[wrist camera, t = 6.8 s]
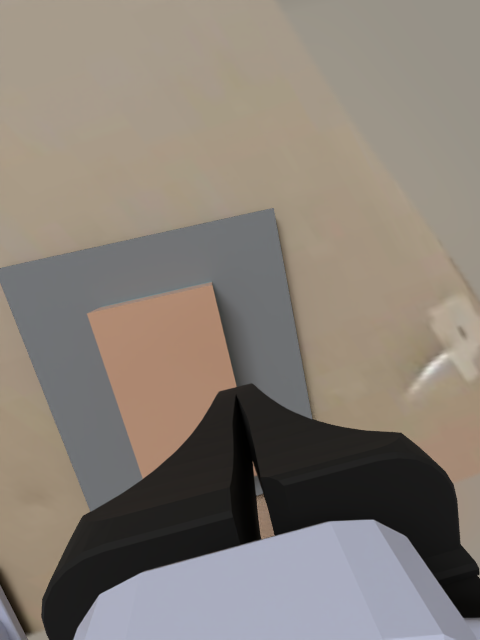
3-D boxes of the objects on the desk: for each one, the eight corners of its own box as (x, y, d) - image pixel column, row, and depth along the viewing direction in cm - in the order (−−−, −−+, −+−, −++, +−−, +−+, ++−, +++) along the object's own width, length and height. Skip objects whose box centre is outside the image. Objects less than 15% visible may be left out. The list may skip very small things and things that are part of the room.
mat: (103, 529, 16) (100, 536, 16) (1, 268, 13) (-6, 269, 13) (320, 472, 17) (323, 477, 16) (271, 209, 14) (273, 208, 13)
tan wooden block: (253, 453, 16) (157, 478, 16) (211, 281, 14) (100, 307, 14) (257, 475, 14) (151, 503, 14) (212, 285, 12) (86, 313, 12)
